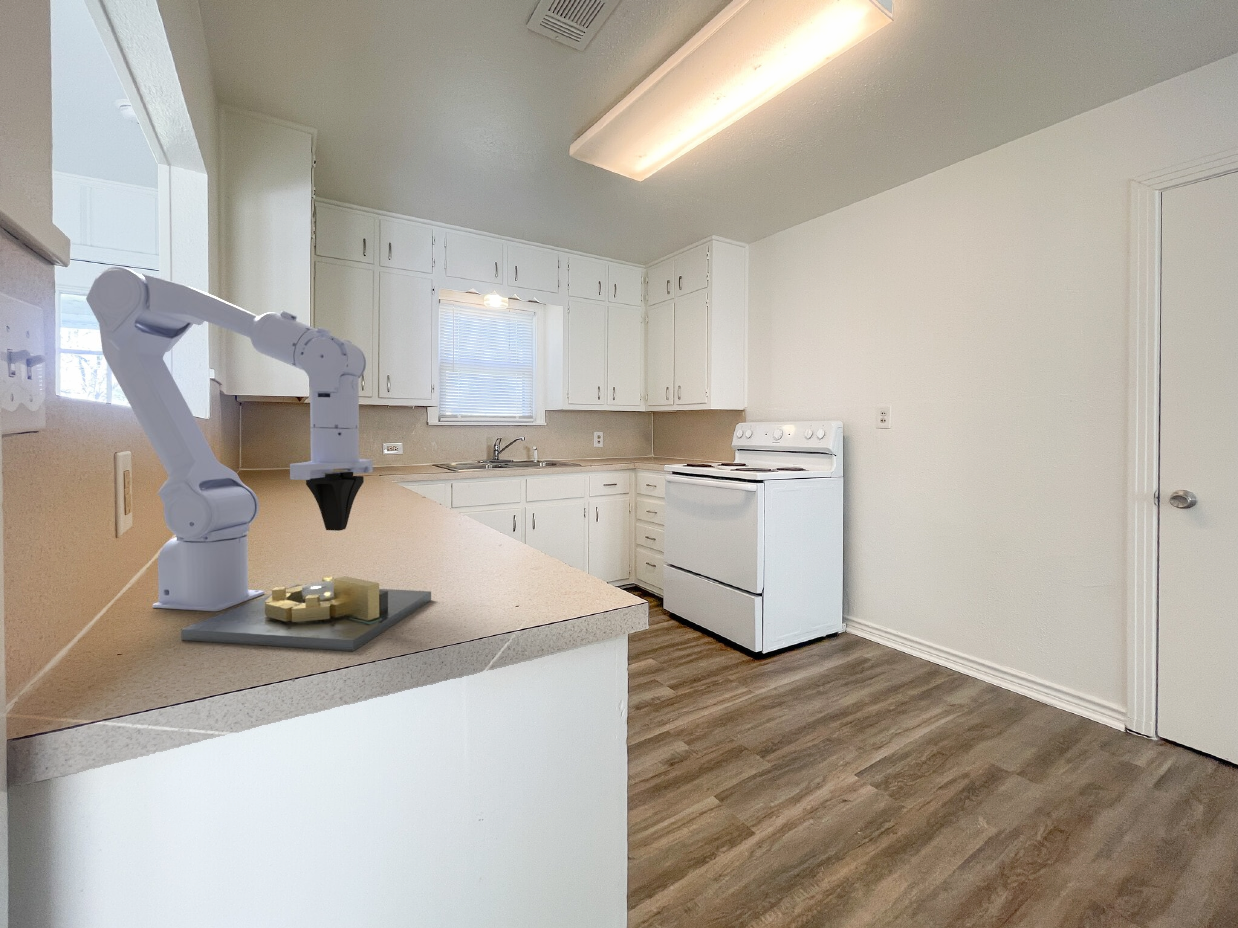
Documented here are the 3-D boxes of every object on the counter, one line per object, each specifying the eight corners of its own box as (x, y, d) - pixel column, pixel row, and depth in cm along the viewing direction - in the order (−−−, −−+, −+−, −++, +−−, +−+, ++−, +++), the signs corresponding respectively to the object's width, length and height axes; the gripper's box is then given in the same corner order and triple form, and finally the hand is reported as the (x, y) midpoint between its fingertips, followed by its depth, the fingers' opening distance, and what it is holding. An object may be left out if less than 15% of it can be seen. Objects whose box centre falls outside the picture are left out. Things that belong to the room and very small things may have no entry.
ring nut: (247, 611, 64) (247, 577, 64) (332, 588, 74) (332, 559, 74) (329, 633, 57) (329, 596, 57) (411, 605, 67) (411, 574, 67)
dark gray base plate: (181, 639, 59) (180, 604, 58) (297, 592, 76) (296, 565, 76) (353, 651, 56) (353, 613, 56) (431, 599, 74) (431, 571, 74)
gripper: (328, 428, 64) (329, 541, 65) (392, 429, 78) (392, 522, 79) (273, 427, 65) (274, 538, 65) (346, 429, 79) (347, 520, 80)
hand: (335, 529), depth 72 cm, fingers closed
